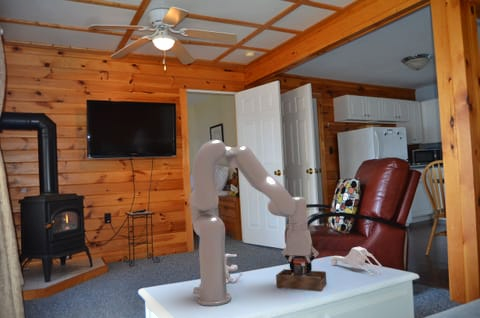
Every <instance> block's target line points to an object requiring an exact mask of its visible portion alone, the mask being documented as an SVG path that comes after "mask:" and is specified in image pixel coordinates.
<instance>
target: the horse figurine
mask: <svg viewBox="0 0 480 318" xmlns="http://www.w3.org/2000/svg"><path fill="white" fill-rule="evenodd" d="M373 255H374V254H373V253H370V252H369V251H368V250H367V249H366V248H364V247H361V246H355V247H352V248H351V249H350V251H349V252H348V254H347V255H346V256H341V255H333V256H332V257H331V258H330V261H331V263H332V265H333V266H334V267H335V266H337V265H338V262H340V263H341V264H344V265H348V266H350V267H352V268H360V269H362V270H365V271H366V272H367V273H369V274H370V277H373V275H374V273H372V271H371V270H374V271H375V272H376V273H377V275H380V273H381V272H380V271H378V269H376V266H375V265H374V264H373V263H372V262H371V261H370V259H369V258H368V257H371V258H372V259H373V260H374V261H375V263H376V264H378V267H379V268H380V269H381V268H382V266H383V265H382V264H381V263H380V262H379V261H378V260H377V259H376V258H375V256H373ZM366 261H367V262H368V263H369V264H368V263H366ZM364 266H366V267H367V268H370V269H371V270H369V269H367V268H366V267H364Z"/></svg>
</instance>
